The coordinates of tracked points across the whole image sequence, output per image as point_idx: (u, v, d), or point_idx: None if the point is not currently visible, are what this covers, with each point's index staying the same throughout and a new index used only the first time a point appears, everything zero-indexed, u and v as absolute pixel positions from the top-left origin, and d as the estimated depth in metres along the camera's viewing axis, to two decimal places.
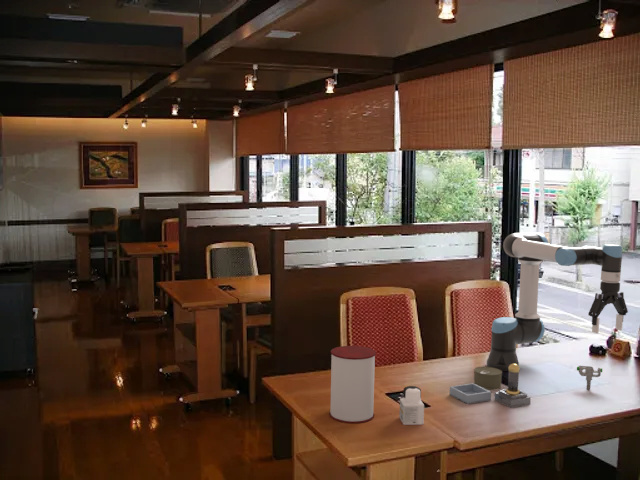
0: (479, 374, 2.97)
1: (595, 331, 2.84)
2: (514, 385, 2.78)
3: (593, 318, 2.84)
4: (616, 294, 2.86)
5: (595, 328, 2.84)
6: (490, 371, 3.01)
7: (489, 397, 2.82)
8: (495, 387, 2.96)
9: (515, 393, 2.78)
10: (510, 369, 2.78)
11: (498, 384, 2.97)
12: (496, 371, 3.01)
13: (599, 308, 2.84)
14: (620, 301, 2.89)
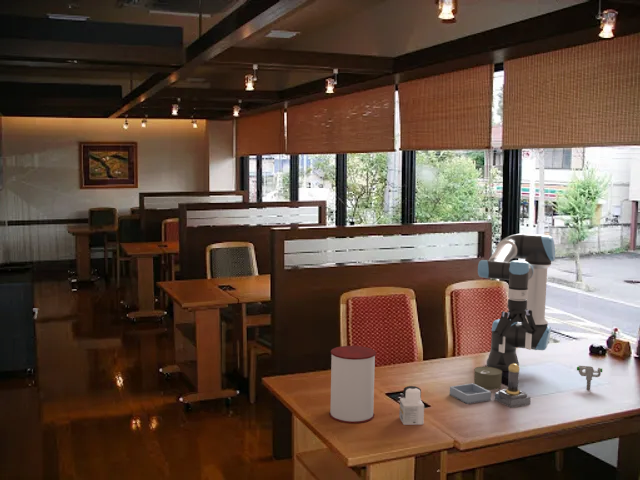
0: (479, 374, 2.97)
1: (501, 351, 2.75)
2: (514, 385, 2.78)
3: (499, 337, 2.74)
4: (524, 312, 2.77)
5: (501, 347, 2.75)
6: (490, 371, 3.01)
7: (489, 397, 2.82)
8: (495, 387, 2.96)
9: (515, 393, 2.78)
10: (510, 369, 2.78)
11: (498, 384, 2.97)
12: (496, 371, 3.01)
13: (505, 327, 2.74)
14: (529, 319, 2.80)
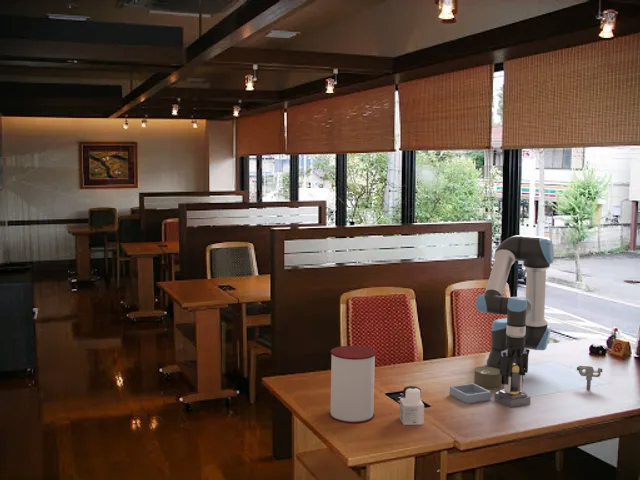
0: (479, 374, 2.97)
1: (507, 390, 2.78)
2: (514, 385, 2.78)
3: (504, 377, 2.78)
4: (522, 348, 2.78)
5: (507, 387, 2.78)
6: (490, 371, 3.01)
7: (489, 397, 2.82)
8: (495, 387, 2.96)
9: (515, 393, 2.78)
10: None
11: (499, 384, 2.97)
12: (496, 371, 3.01)
13: (508, 366, 2.77)
14: (524, 358, 2.81)
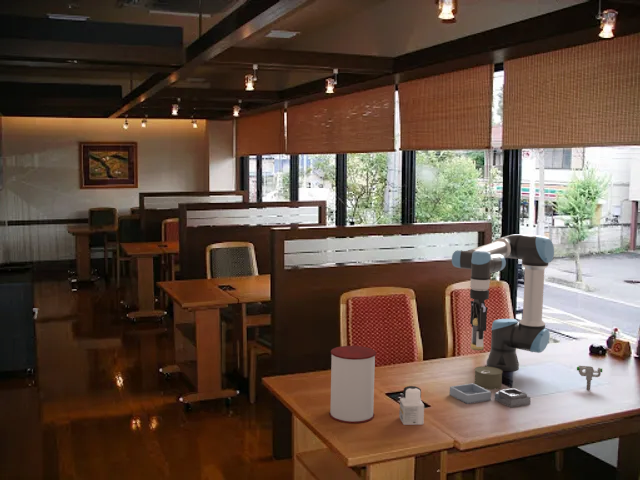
0: (480, 374, 2.97)
1: (481, 345, 2.79)
2: None
3: (481, 332, 2.77)
4: None
5: (480, 342, 2.79)
6: (490, 371, 3.01)
7: (489, 397, 2.82)
8: (496, 387, 2.97)
9: (483, 345, 2.82)
10: None
11: (499, 384, 2.97)
12: (496, 371, 3.01)
13: None
14: None
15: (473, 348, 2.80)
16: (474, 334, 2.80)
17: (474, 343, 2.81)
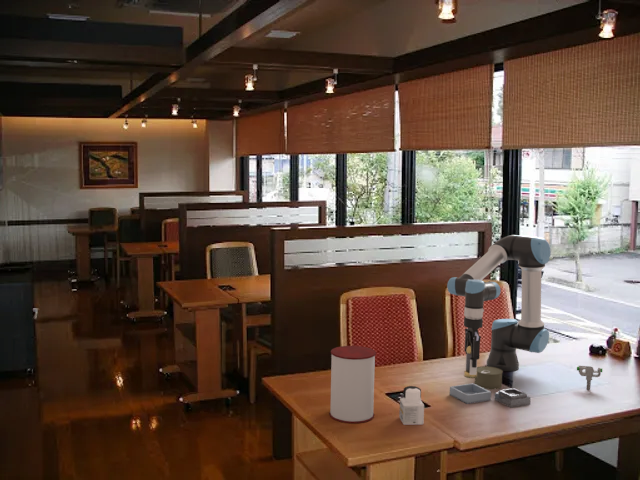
0: (480, 374, 2.98)
1: (474, 373, 2.81)
2: None
3: (474, 361, 2.79)
4: None
5: (474, 370, 2.80)
6: (491, 371, 3.02)
7: (489, 397, 2.82)
8: (496, 387, 2.97)
9: None
10: None
11: (499, 384, 2.98)
12: (497, 371, 3.02)
13: None
14: None
15: (466, 376, 2.82)
16: (467, 362, 2.82)
17: (467, 371, 2.82)
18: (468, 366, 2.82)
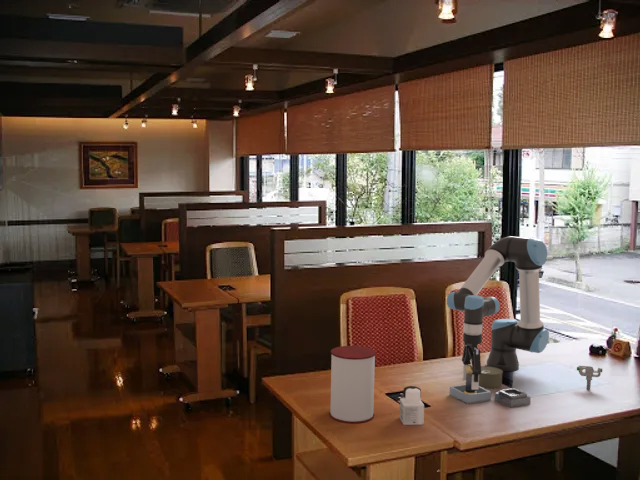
0: (480, 374, 2.98)
1: (476, 388, 2.78)
2: None
3: (476, 375, 2.76)
4: None
5: (476, 385, 2.78)
6: (491, 371, 3.02)
7: (489, 397, 2.82)
8: (496, 386, 2.97)
9: None
10: None
11: (499, 384, 2.98)
12: (497, 370, 3.02)
13: None
14: None
15: None
16: (467, 382, 2.83)
17: (467, 391, 2.84)
18: (467, 386, 2.83)
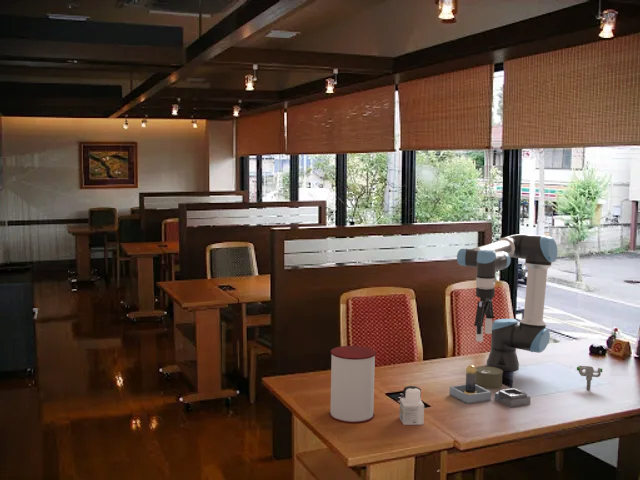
0: (480, 374, 2.98)
1: (480, 340, 2.79)
2: None
3: (478, 327, 2.77)
4: (489, 299, 2.85)
5: (479, 337, 2.79)
6: (491, 370, 3.02)
7: (489, 397, 2.82)
8: (496, 386, 2.97)
9: None
10: (473, 371, 2.82)
11: (499, 384, 2.98)
12: (497, 370, 3.02)
13: None
14: None
15: None
16: (467, 382, 2.83)
17: (467, 391, 2.84)
18: (467, 386, 2.83)
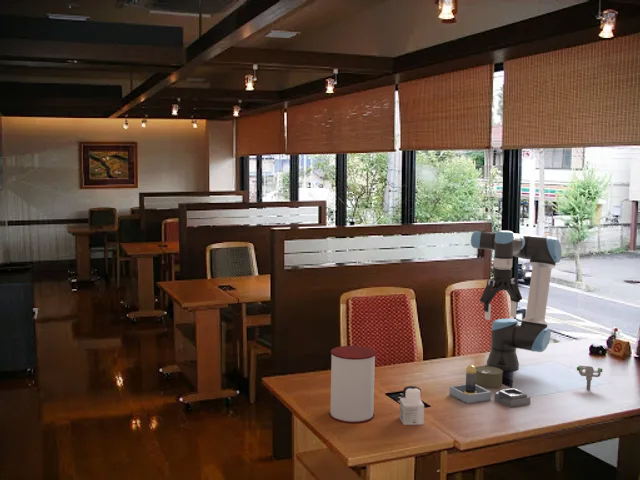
0: (480, 373, 2.98)
1: (487, 318, 2.84)
2: None
3: (485, 305, 2.83)
4: (509, 281, 2.86)
5: (487, 315, 2.84)
6: (491, 370, 3.02)
7: (489, 397, 2.82)
8: (496, 386, 2.97)
9: None
10: (473, 371, 2.82)
11: (499, 384, 2.98)
12: (497, 370, 3.02)
13: (491, 295, 2.83)
14: (514, 288, 2.89)
15: None
16: (467, 382, 2.83)
17: (467, 391, 2.84)
18: (467, 386, 2.83)
